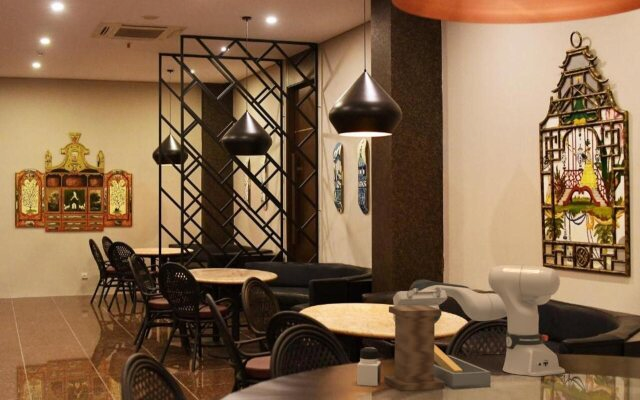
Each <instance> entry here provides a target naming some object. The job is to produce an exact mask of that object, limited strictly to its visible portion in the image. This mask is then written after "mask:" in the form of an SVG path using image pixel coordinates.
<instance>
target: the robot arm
mask: <svg viewBox="0 0 640 400" xmlns="http://www.w3.org/2000/svg"><path fill="white" fill-rule="evenodd" d="M487 278H488V279H487V281H488V285H489V287H490V289H491V290H492V292H494V293H492V292H491V293H485V292H483V293H480V292H477V291H475V290H473V289H471V288H470V287H469V286H467V285H461V284H454V283H446V282H437V281H432V280H429V279H416V280H415V281H414V282H412V284H411V285H410V288H409V289H408V290H406V291H405V290H404V291H403V290H401V291H398V292H396V293H395V294H394V296H393V297H392V300H393V301H392V302H393V306H419V305H427V306H430V307H434V308H437V309H440V305H441V304H443V303H444V302H446V301H447V299H448V297H451V298H453V300H455V301H456V302H457V304H458V305H459V306H460V307H461V309H462V311H463V312H464V314H465V315H466V316H467V317H468V318H470V319H471V320H473V321H478V322H483V321H484V322H487V321H493V320H498V319H503V318H506V317H507V318H506V322H507V331H506V334H505V337H506V338H505V342H506V343H505V345H506V353H505V358H504V364H503V366H502V367H503V368H502V371H503V372H506V373H509V374H513V375H519V376H520V375H521V376H529V377H544V376H550V375H558V374H559V375H560V374H565V373H566V370H565V368H563V367H561V366H560V364H559V359H558V356H557V354H556V353H555V352H553V350H551V349H550V348H549V347H548V346H546V345H545V344H544V343H543V341H546V342H547V341H548V339H549V336H548V334H547V335H546V334H541V333H539V320H540V312H539V310H538V306H541V305H545V304H547V303H548V302H549V301H550V300H551V298H552V296H553V295H555V294H556V293H557V292H558V290H559V288H560V284H561V280H560V279H561V278H560V276H559V274H558V272H557V271H556V270H555V269H554V268H551V267H547V266H546V267H545V266H542V265H541V266H539V265H523V264H522V265H519V264H501V265H496V266H493V267H492V268H491V270H490V272H489V273H488V277H487ZM392 316H393V317H392V319H393V320H394V321H393V322H395V314H393V315H392ZM441 316H442V315H441ZM441 316H435V324H436V323H438V321H440V318H441Z"/></svg>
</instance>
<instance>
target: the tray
mask: <svg viewBox="0 0 640 400" xmlns="http://www.w3.org/2000/svg"><path fill="white" fill-rule="evenodd" d="M447 356H448V357H449V358H450V359H451V360H452V361H453V362H454V363H455V364H456V365H457V366H458V367H460V368H461V369H462V373H453V372H450V371H448V370H446V369H444V368H442V367H441V366H440V365H439V364H438V363H437V362H436V361H435V360H434V377H435V378H437V379H439V380H441V381H443V382H445V387H448V388H449V389H452V390H461V389H474V388H475V389H476V388H490V387H491V385H492V384H491V382H492V381H491V378H492V376H491V374H492V372H491V371H489V370H487V369H485V368H482V367H480V366H477V365H474V364H473V363H469V362H468V361H465V360H463V359H460V358H457V357H455V356H453V355H447Z"/></svg>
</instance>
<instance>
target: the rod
mask: <svg viewBox="0 0 640 400" xmlns="http://www.w3.org/2000/svg"><path fill="white" fill-rule="evenodd" d="M448 356H449V355H446V353H444V352H443V350H441V349H440V348H439V347H438V346H437V345H436V344H434V360H435V361H436V362H437V363H438V364H439V365H440V366H441V367H442V368H444V369H446V370H448V371H450V372H453V373H462V369H461V368H460V367H458V366H457V365H456V364H455V363H454V362H453V361H452V360H451V359H450V358H449V357H448Z"/></svg>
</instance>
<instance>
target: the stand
mask: <svg viewBox="0 0 640 400" xmlns="http://www.w3.org/2000/svg"><path fill="white" fill-rule="evenodd" d="M388 313H390V314H395V321H394V323H395V324H394V375H384V377H383V378H384V379H383V382H384V383H385V382H386V383H385V384H387V385H389V386H391V387H392V386H393V387H392V388H394V387H395V388H394V389H396V388H397V389H396V390H398V391H399V390H400V391H399V392H407V391H408V392H409V391H422V390H423V391H424V390H438V389H440V390H441V389H446V388H445V387H446V386H445V382H443V381H441V380H439V379H437V378H435V377H434V345H435V325H436V323H435V316H442V309H440V308H439V309H437V308H434V307H430V306H427V305H419V306H394V305H392V306H391V305H390V306H388Z"/></svg>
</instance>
